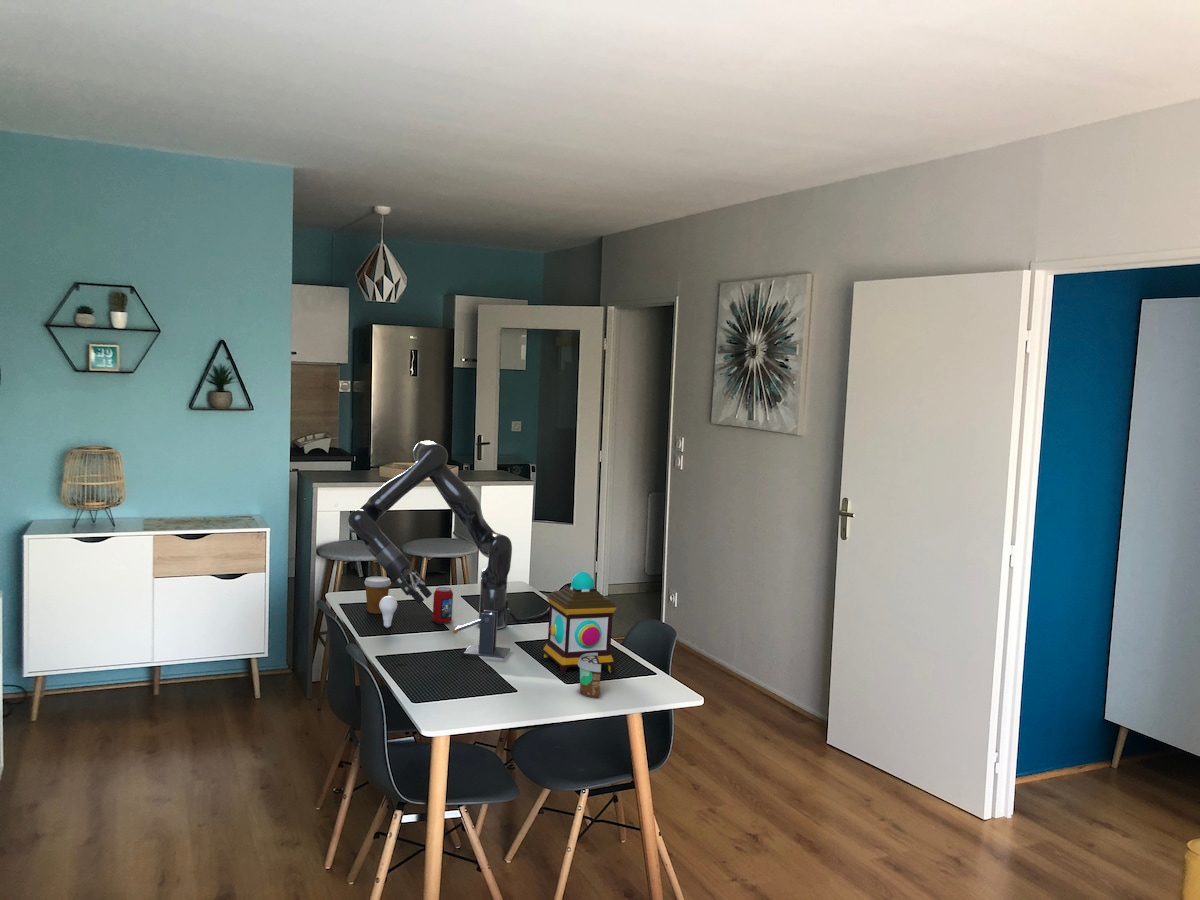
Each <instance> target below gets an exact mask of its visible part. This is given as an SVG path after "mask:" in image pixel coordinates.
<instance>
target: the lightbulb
mask: <svg viewBox="0 0 1200 900" xmlns="http://www.w3.org/2000/svg"><path fill="white" fill-rule="evenodd" d="M379 608H380V610H381V612H382V613H381V614H382V620H383V627H384V628H386V629H389V628H390V627H391V626H392V621H393V617H394V614H395V612H396V611H397V608H398V601H397V599H396V598H395V597H394V596H391V595H388V596H385V597H383V598H382V599H381V601H380V603H379Z"/></svg>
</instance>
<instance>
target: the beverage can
mask: <svg viewBox="0 0 1200 900" xmlns="http://www.w3.org/2000/svg"><path fill="white" fill-rule="evenodd" d="M432 602H433V603H432V621H433V622H434V623H435V624H449V623H450V622H451V621H452V620H453V602H454V592H453V590H452V588H451V587H447V586H437V587H436V588H435V590H434V592H433V601H432Z"/></svg>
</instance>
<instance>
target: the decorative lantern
mask: <svg viewBox="0 0 1200 900" xmlns="http://www.w3.org/2000/svg"><path fill="white" fill-rule="evenodd" d="M594 584H595V583H594V579H593V577H592V576H591V574H589V572H587V571H584V570H583V571H578V572H577V573H576V574H575V575H574V576H573V577H572V578H571V583H570V584H567V586H565V587H564V588H562V589H560V590H554V591H553V592H551V593H549V594H548V595H546V599H547V601H548V604H549V607H550V611H549V612H548V632H547V642H546V643H545V646H544V647H543V650H542V658H544V659H548V658H550V659H551V660H552V661H554V662H555V664H557V665H558V666H559V669H560V673H561V674H566V672H567V669H568V668H576V667H577V668H578V667H579V666H578V661H579V658H580V656H581V655H583V654H587V653H598V660H599V664H601V666H605V665H606V666H607V671H608V673H611V674H612V673H613V672H614V669H615V661H614V658H613V656H612V654H611V647H612V633H613V617H614V613H615V612H616V610H617V605H615V602H613V601H612V600H611V599H610V598H608V597H607V596H605V595H603V594H602V593H600V591H598V588H597V587H594V586H595V585H594Z"/></svg>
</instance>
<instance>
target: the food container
mask: <svg viewBox="0 0 1200 900" xmlns="http://www.w3.org/2000/svg"><path fill="white" fill-rule="evenodd" d="M577 667H578V668H579V694H581V695H582V696H584V697H587V698H592V699H600V698H599V697H600V686H601V685H600V684H601V674H602V673H601V672H602V665H601V664H599V660H598V653H587V654H583V655H581V656H580V658H579V661H578V666H577Z"/></svg>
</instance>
